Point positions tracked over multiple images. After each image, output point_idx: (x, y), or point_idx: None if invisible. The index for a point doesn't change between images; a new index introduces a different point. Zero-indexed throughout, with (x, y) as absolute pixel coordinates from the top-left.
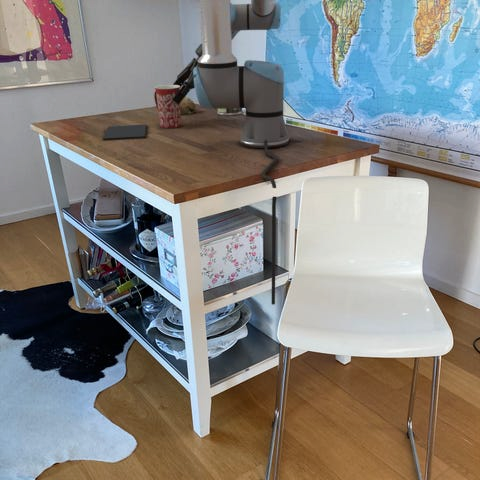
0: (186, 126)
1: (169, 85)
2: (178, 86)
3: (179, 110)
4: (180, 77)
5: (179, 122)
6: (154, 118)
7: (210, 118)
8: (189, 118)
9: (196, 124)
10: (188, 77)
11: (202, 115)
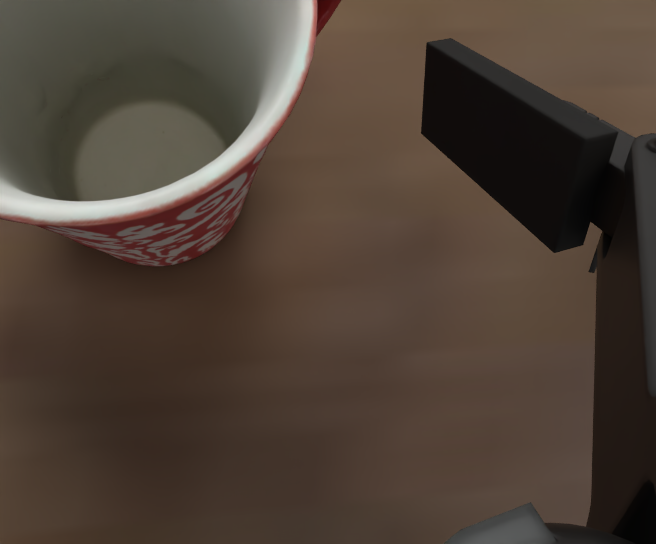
0: (127, 321)
1: (298, 24)
2: (157, 190)
3: (96, 248)
4: (628, 198)
5: (116, 257)
6: (507, 46)
7: (453, 515)
8: (475, 326)
9: (202, 407)
10: (596, 376)
11: (586, 430)
